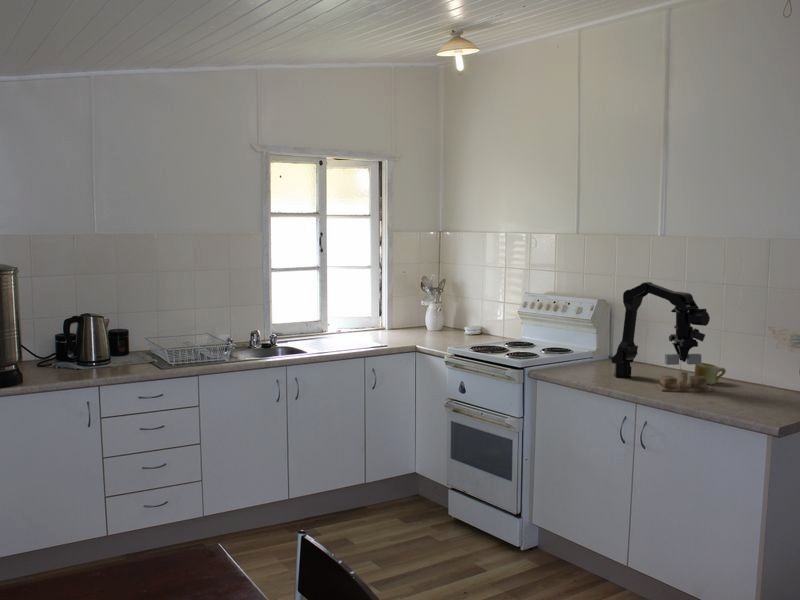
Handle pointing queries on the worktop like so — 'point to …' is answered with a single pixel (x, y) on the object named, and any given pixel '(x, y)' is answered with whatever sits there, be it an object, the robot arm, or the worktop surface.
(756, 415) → the worktop surface
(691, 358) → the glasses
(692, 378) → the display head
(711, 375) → the mug
